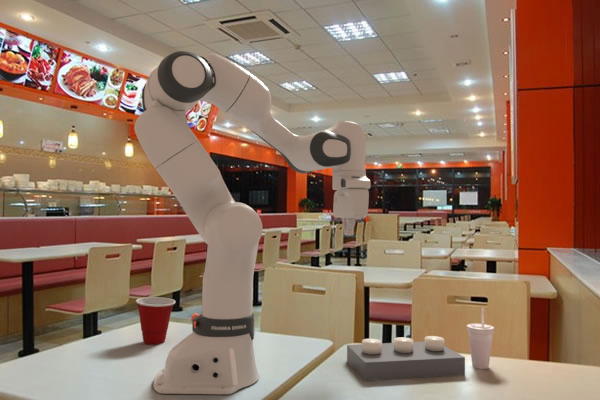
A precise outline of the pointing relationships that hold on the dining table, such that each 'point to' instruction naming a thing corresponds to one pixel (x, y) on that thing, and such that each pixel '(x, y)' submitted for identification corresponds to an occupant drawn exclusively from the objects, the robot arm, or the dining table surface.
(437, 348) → the knob
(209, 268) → the robot arm
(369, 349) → the knob
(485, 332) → the smoothie
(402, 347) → the knob middle
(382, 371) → the console
